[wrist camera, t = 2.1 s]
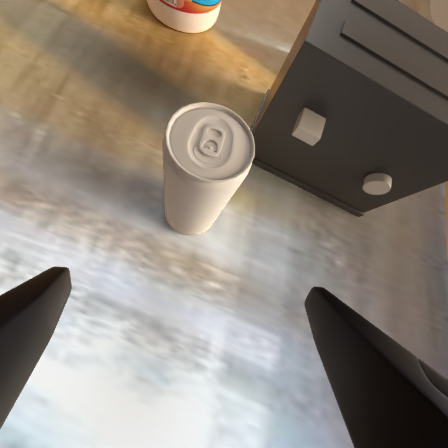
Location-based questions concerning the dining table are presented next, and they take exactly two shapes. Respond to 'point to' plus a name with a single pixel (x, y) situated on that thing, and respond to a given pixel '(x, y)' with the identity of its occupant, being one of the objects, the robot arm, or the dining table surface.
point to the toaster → (359, 106)
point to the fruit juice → (186, 13)
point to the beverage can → (203, 164)
